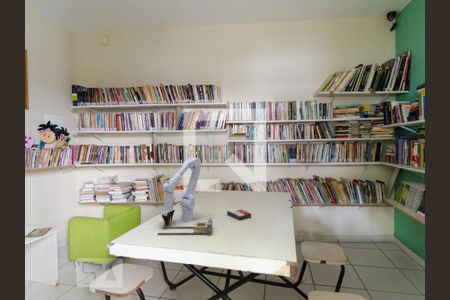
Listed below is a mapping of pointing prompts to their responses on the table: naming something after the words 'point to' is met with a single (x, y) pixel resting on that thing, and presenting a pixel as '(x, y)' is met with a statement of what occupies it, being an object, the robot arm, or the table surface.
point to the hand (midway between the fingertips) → (168, 223)
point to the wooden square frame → (200, 227)
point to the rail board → (209, 228)
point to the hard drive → (238, 214)
